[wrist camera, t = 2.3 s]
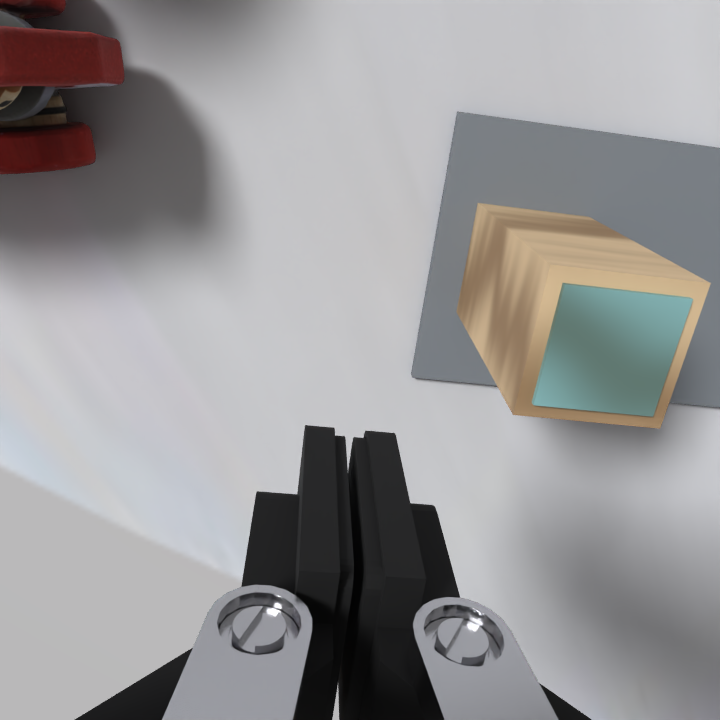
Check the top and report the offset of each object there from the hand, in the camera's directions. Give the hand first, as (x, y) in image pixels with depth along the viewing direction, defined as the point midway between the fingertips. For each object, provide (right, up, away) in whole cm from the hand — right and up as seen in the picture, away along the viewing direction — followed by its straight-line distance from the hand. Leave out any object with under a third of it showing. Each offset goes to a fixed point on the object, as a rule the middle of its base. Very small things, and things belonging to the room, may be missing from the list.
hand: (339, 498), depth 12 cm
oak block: (+8, +7, +18) cm, 20 cm away
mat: (+13, +6, +18) cm, 23 cm away
